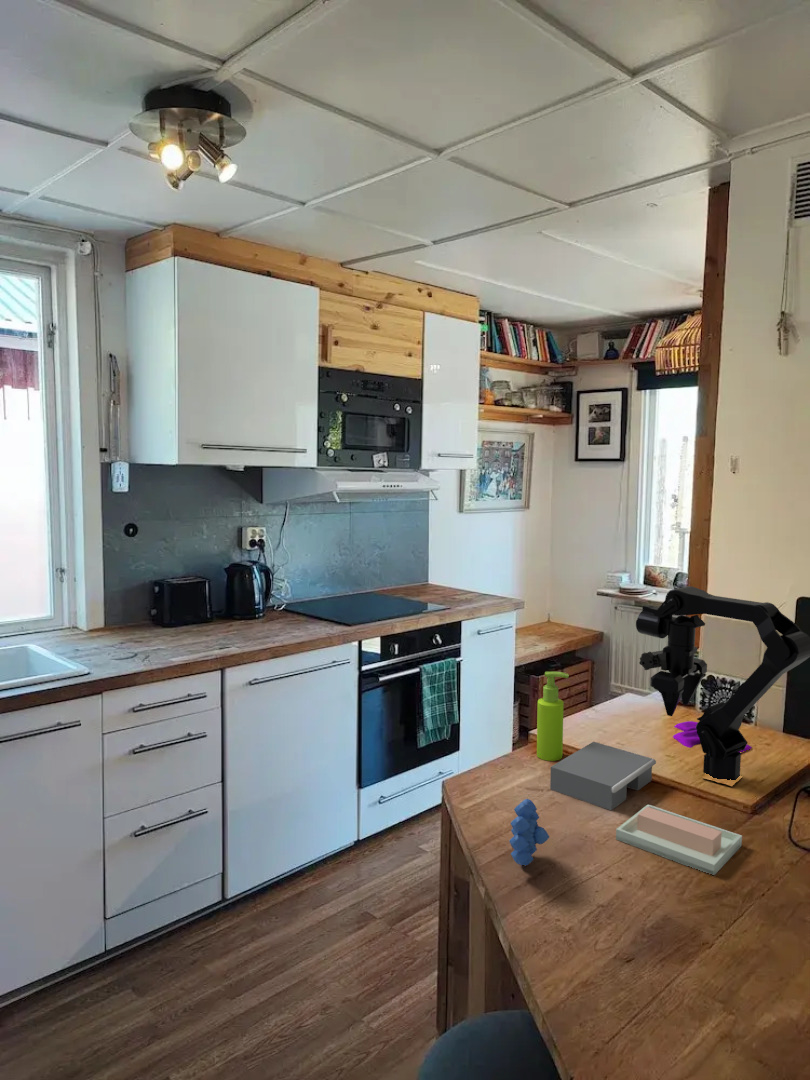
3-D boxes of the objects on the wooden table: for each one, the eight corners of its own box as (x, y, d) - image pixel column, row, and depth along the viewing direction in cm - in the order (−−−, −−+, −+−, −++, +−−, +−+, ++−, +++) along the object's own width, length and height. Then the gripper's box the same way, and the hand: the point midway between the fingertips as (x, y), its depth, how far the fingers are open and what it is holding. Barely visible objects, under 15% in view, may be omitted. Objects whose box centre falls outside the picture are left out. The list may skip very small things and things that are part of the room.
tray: (741, 845, 141) (742, 835, 141) (713, 875, 132) (714, 864, 131) (647, 813, 153) (647, 804, 153) (615, 839, 144) (616, 829, 143)
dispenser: (655, 781, 167) (656, 759, 166) (615, 812, 154) (615, 788, 153) (593, 762, 177) (593, 741, 176) (550, 789, 164) (550, 766, 163)
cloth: (755, 761, 178) (756, 736, 178) (669, 750, 185) (670, 725, 184) (750, 727, 199) (751, 704, 198) (673, 718, 206) (674, 696, 205)
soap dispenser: (566, 762, 177) (568, 677, 175) (536, 759, 179) (537, 675, 176) (566, 752, 183) (568, 669, 180) (537, 749, 185) (538, 668, 182)
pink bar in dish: (720, 847, 139) (721, 831, 139) (712, 856, 136) (713, 840, 136) (646, 821, 149) (647, 806, 148) (637, 829, 146) (637, 814, 145)
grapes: (542, 888, 129) (543, 819, 127) (502, 879, 131) (502, 812, 129) (555, 852, 139) (556, 789, 138) (518, 845, 142) (518, 783, 140)
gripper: (662, 628, 186) (659, 691, 188) (629, 645, 172) (626, 713, 174) (709, 636, 179) (705, 702, 181) (679, 654, 165) (675, 725, 167)
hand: (677, 710), depth 176 cm, fingers open, 9 cm apart
